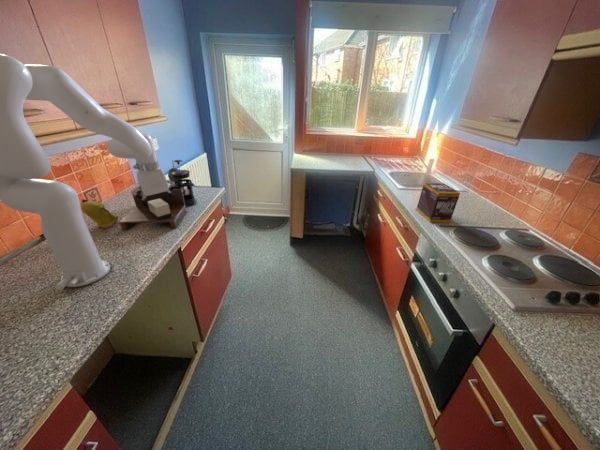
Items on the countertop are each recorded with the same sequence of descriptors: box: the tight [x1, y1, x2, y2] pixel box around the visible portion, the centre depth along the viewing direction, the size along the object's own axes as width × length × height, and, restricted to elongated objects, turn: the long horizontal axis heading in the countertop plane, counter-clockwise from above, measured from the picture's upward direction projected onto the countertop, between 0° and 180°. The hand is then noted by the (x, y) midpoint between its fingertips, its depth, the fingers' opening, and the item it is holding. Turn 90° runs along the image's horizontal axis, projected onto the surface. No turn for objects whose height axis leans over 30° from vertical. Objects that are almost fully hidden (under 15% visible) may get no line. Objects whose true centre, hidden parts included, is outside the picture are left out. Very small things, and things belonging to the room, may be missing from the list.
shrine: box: [80, 199, 119, 229], centre depth 105 cm, size 12×8×15 cm
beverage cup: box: [167, 160, 183, 190], centre depth 138 cm, size 7×7×20 cm
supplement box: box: [416, 182, 461, 223], centre depth 125 cm, size 10×15×16 cm
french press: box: [171, 159, 197, 207], centre depth 127 cm, size 12×9×23 cm
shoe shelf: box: [119, 189, 187, 231], centre depth 112 cm, size 17×22×12 cm
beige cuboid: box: [147, 198, 172, 220], centre depth 111 cm, size 12×5×6 cm, turn 47°
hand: (158, 204), depth 109 cm, fingers open, 9 cm apart
